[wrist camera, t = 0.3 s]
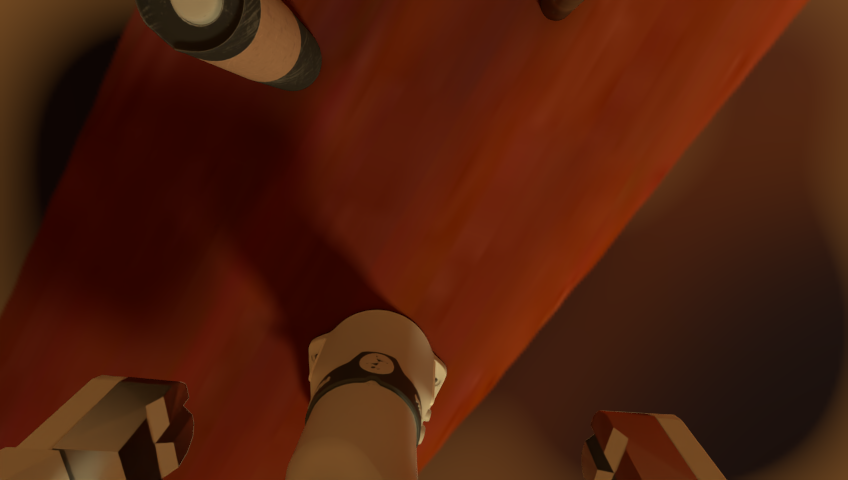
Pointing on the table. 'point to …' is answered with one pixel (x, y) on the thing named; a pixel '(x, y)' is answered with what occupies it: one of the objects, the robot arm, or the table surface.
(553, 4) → the cylinder
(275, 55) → the travel mug
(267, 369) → the table surface
